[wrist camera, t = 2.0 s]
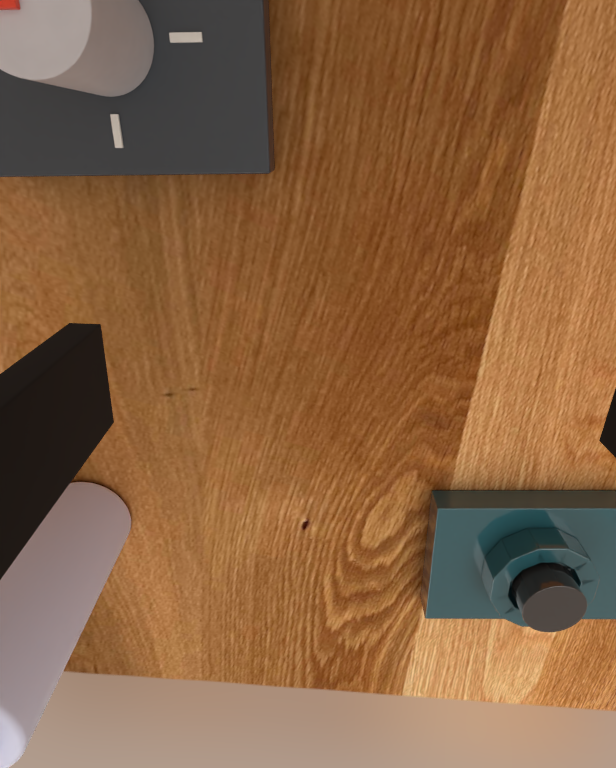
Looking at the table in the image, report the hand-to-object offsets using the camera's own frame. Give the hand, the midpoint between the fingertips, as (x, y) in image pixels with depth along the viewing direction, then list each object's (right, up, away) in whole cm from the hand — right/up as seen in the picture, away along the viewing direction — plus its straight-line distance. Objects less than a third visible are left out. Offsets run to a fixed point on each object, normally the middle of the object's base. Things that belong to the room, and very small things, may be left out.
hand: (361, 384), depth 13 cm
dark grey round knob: (+14, -13, +21) cm, 29 cm away
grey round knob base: (+14, -12, +25) cm, 31 cm away
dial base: (-10, +16, +12) cm, 23 cm away
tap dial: (-10, +15, +9) cm, 20 cm away
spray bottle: (-17, -9, +24) cm, 31 cm away
